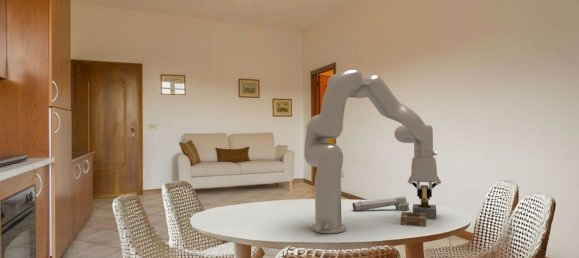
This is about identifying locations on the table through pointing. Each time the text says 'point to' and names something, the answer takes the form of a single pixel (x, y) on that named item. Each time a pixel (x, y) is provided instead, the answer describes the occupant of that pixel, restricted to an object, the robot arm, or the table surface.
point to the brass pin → (424, 196)
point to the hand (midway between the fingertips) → (424, 198)
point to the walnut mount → (413, 219)
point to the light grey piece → (382, 204)
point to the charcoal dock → (425, 210)
